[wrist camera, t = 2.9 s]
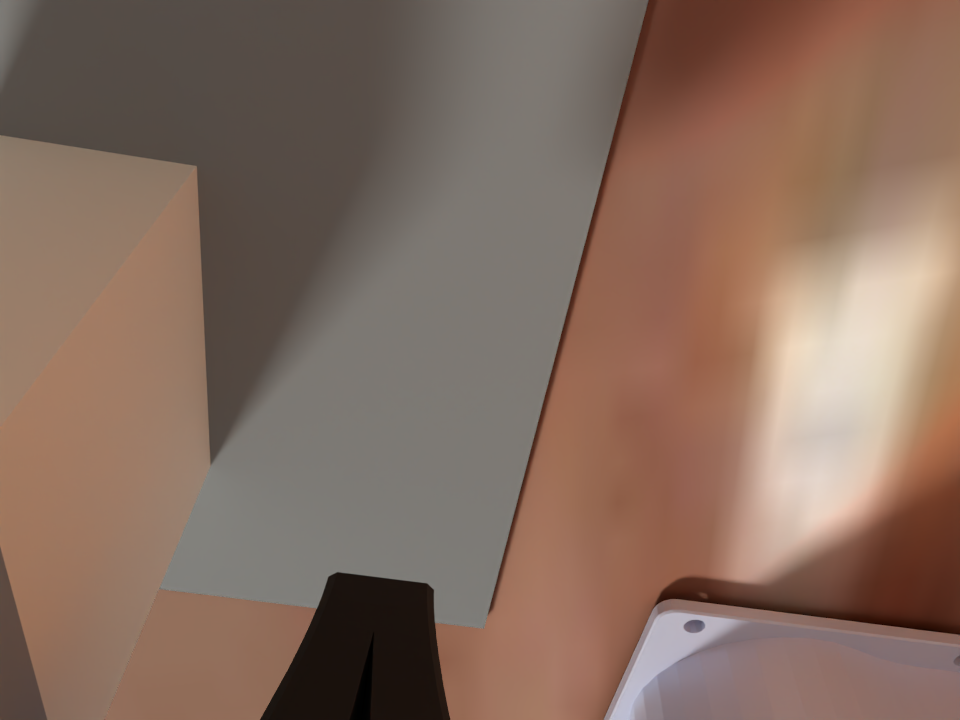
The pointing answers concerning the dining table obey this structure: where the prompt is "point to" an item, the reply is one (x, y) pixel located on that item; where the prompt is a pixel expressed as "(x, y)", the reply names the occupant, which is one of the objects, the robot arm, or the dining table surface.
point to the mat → (353, 255)
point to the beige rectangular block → (93, 413)
